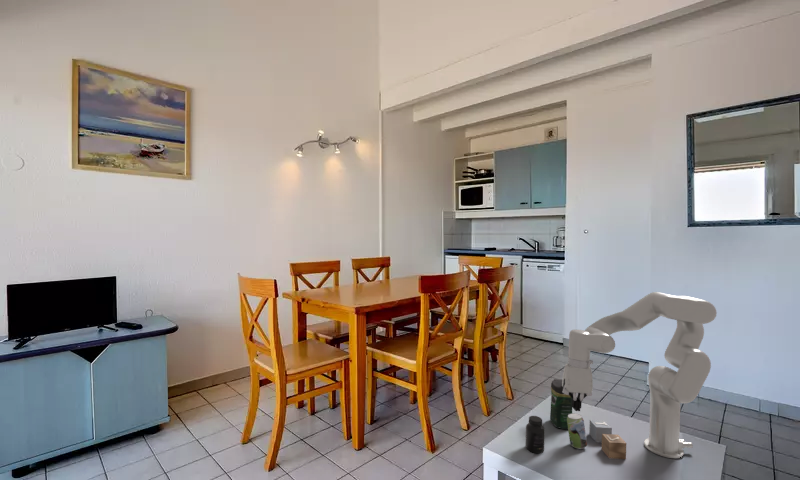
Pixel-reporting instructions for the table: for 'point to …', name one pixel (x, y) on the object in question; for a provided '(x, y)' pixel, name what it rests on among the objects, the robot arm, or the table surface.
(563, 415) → the coffee jar
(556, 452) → the table surface
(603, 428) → the slate digit block
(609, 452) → the walnut digit block
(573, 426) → the beverage can
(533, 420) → the supplement bottle
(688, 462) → the table surface
